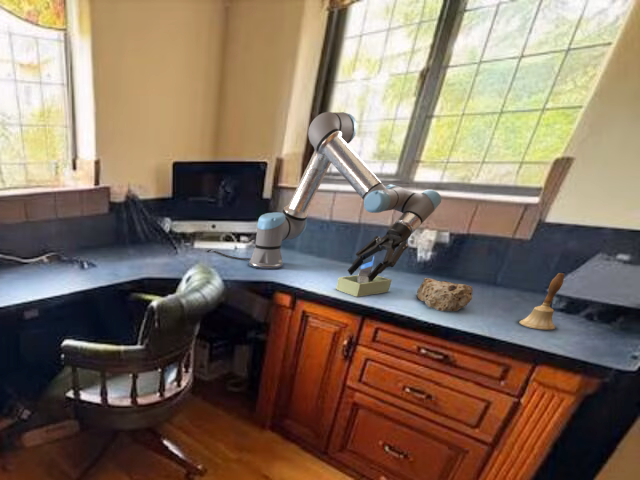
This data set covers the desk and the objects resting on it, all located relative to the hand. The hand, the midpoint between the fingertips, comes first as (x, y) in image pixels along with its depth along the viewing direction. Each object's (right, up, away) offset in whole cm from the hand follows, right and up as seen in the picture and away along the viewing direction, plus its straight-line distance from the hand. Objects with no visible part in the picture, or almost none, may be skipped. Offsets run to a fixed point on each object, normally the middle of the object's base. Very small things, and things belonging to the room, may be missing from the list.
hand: (359, 275), depth 160 cm
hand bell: (+37, -24, -31) cm, 54 cm away
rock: (+23, -13, -11) cm, 29 cm away
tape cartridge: (+3, -4, +4) cm, 6 cm away
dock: (+3, -5, +4) cm, 7 cm away
